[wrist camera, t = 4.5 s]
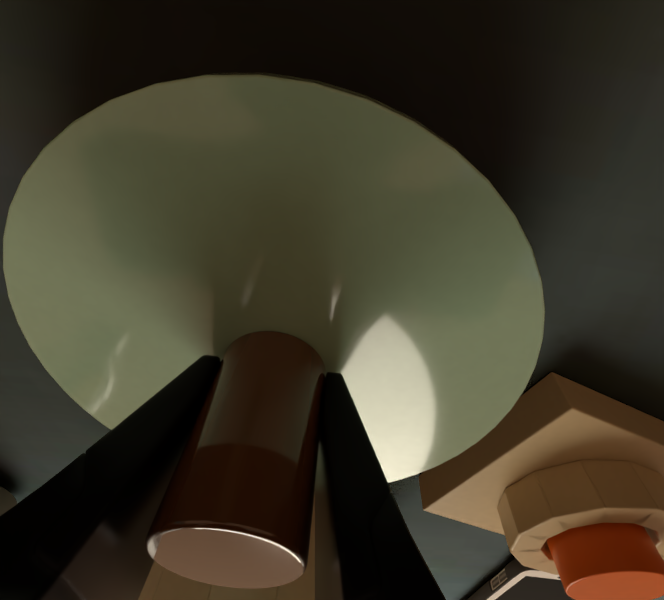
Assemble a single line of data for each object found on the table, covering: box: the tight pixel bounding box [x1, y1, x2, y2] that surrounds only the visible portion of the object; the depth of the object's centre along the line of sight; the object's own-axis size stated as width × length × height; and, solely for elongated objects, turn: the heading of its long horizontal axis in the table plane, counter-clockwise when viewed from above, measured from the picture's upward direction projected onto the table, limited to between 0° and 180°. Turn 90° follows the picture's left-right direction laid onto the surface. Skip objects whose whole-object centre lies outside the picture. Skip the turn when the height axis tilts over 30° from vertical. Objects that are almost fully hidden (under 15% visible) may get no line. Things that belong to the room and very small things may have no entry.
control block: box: [419, 372, 664, 575], centre depth 16 cm, size 10×9×4 cm
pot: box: [138, 493, 315, 600], centre depth 19 cm, size 13×13×7 cm
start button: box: [547, 522, 664, 600], centre depth 14 cm, size 4×4×2 cm
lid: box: [3, 73, 545, 589], centre depth 8 cm, size 14×14×6 cm
